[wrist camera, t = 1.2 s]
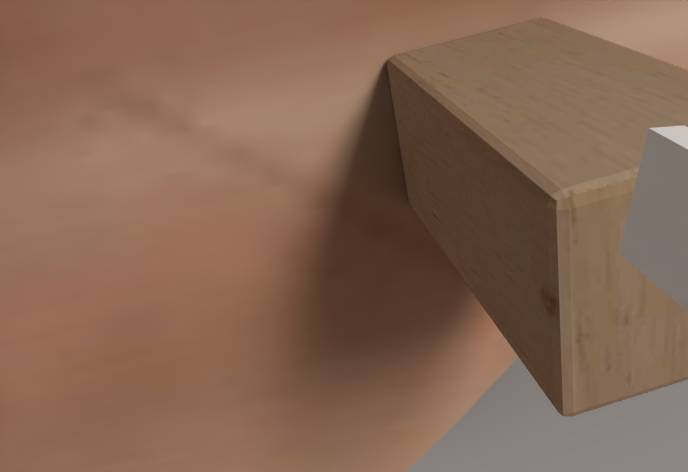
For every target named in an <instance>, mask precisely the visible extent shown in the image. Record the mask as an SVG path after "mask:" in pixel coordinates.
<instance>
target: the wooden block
mask: <svg viewBox="0 0 688 472" xmlns="http://www.w3.org/2000/svg"><path fill="white" fill-rule="evenodd" d="M387 70H388V76H389V82H390V89H391V95H392V101H393V107H394V113H395V120H396V126H397V132H398V138H399V144H400V151H401V157H402V163H403V169H404V175H405V182H406V188H407V194H408V200H409V204H410V206H411V207H412V209H413V210H414V211H415V213H416V214H417V216H418V217H419V218H420V220H421V221H422V223H423V224H424V225H425V227H426V228H427V230H428V231H429V232H430V234H431V235H432V237H433V238H434V239H435V241H436V242H437V243H438V245H439V246H440V248H441V249H442V250H443V252H444V253H445V255H446V256H447V257H448V259H449V260H450V262H451V263H452V264H453V266H454V267H455V269H456V270H457V271H458V273H459V274H460V276H461V277H462V278H463V280H464V281H465V283H466V284H467V285H468V287H469V288H470V290H471V291H472V292H473V294H474V295H475V297H476V298H477V299H478V301H479V302H480V304H481V305H482V306H483V308H484V309H485V310H486V312H487V313H488V315H489V316H490V317H491V319H492V320H493V322H494V323H495V324H496V326H497V327H498V329H499V330H500V331H501V333H502V334H503V336H504V337H505V338H506V340H507V341H508V343H509V344H510V345H511V347H512V348H513V350H514V351H515V352H516V354H517V355H518V357H519V358H520V359H521V361H522V362H523V364H524V365H525V366H526V368H527V369H528V371H529V372H530V373H531V374H532V376H533V377H534V379H535V380H536V382H537V383H538V384H539V386H540V387H541V389H542V390H543V391H544V393H545V394H546V396H547V397H548V398H549V400H550V401H551V403H552V404H553V405H554V407H555V408H556V410H557V411H558V412H559V413H560V414H561V415H563V416H575V415H578V414H580V413H584V412H587V411H590V410H593V409H597V408H600V407H603V406H606V405H609V404H612V403H615V402H618V401H622V400H625V399H628V398H631V397H634V396H637V395H640V394H643V393H647V392H649V391H653V390H656V389H659V388H662V387H665V386H669V385H672V384H675V383H678V382H681V381H684V380H687V379H688V312H687V311H686V310H685V309H684V308H682V307H681V306H680V305H679V304H678V303H677V302H675V301H674V300H673V299H672V298H671V297H670V296H669V295H667V294H666V293H665V292H664V291H663V290H662V289H661V288H659V287H658V286H657V285H656V284H655V283H654V282H652V281H651V280H650V279H649V278H648V277H647V276H646V275H644V274H643V273H642V272H641V271H640V270H639V269H638V268H636V267H635V266H634V265H633V264H632V263H631V262H629V261H628V260H627V259H626V258H625V257H624V256H623V255H621V254H620V253H619V250H620V246H621V242H622V237H623V233H624V229H625V225H626V221H627V217H628V212H629V208H630V204H631V200H632V196H633V192H634V188H635V183H636V179H637V175H638V171H639V167H640V163H641V158H642V154H643V150H644V146H645V142H646V138H647V133H648V129H649V128H656V127H669V126H682V125H684V126H686V127H688V70H686V69H683V68H681V67H678V66H675V65H673V64H670V63H667V62H664V61H662V60H659V59H656V58H653V57H651V56H648V55H645V54H642V53H640V52H637V51H634V50H631V49H629V48H626V47H623V46H620V45H618V44H615V43H612V42H610V41H607V40H604V39H601V38H599V37H596V36H593V35H590V34H588V33H585V32H582V31H579V30H577V29H574V28H571V27H568V26H566V25H563V24H560V23H557V22H555V21H552V20H549V19H546V18H538V19H534V20H531V21H527V22H523V23H519V24H515V25H511V26H507V27H503V28H499V29H496V30H492V31H488V32H484V33H480V34H476V35H472V36H468V37H464V38H461V39H457V40H453V41H449V42H445V43H441V44H437V45H433V46H429V47H426V48H422V49H418V50H414V51H410V52H406V53H402V54H398V55H394V56H393V57H391V58H390V59H388V64H387Z"/></svg>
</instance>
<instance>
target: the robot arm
mask: <svg viewBox="0 0 688 472" xmlns="http://www.w3.org/2000/svg"><path fill="white" fill-rule="evenodd" d="M619 253H620V254H621V255H623V256H624V257H625V258H626V259H627V260H628V261H629V262H631V263H632V264H633V265H634V266H635V267H636V268H638V269H639V270H640V271H641V272H642V273H643V274H644V275H646V276H647V277H648V278H649V279H650V280H651V281H652V282H654V283H655V284H656V285H657V286H658V287H659V288H661V289H662V290H663V291H664V292H665V293H666V294H667V295H669V296H670V297H671V298H672V299H673V300H674V301H675V302H677V303H678V304H679V305H680V306H681V307H682V308H684V309H685V310H686V311H687V312H688V127H686V126H684V125H682V126H669V127H656V128H649V129H648V133H647V138H646V142H645V146H644V150H643V154H642V158H641V163H640V167H639V171H638V175H637V179H636V183H635V188H634V192H633V196H632V200H631V204H630V208H629V212H628V217H627V221H626V225H625V229H624V233H623V237H622V242H621V246H620V250H619Z"/></svg>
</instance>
